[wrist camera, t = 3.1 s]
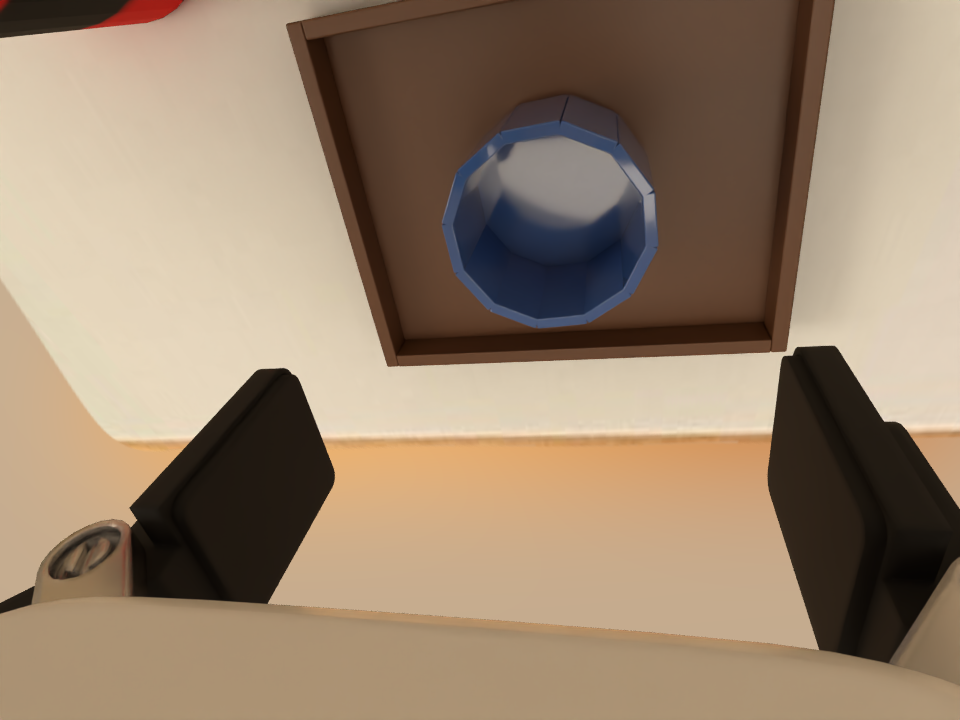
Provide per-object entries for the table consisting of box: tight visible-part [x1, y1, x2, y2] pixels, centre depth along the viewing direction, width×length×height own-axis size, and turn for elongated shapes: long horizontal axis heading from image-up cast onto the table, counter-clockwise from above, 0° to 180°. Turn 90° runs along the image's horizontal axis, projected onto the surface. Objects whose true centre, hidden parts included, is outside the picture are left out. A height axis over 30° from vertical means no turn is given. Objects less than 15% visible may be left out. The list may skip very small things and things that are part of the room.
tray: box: [286, 0, 835, 367], centre depth 22 cm, size 17×14×2 cm
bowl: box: [442, 94, 659, 328], centre depth 21 cm, size 7×7×5 cm
